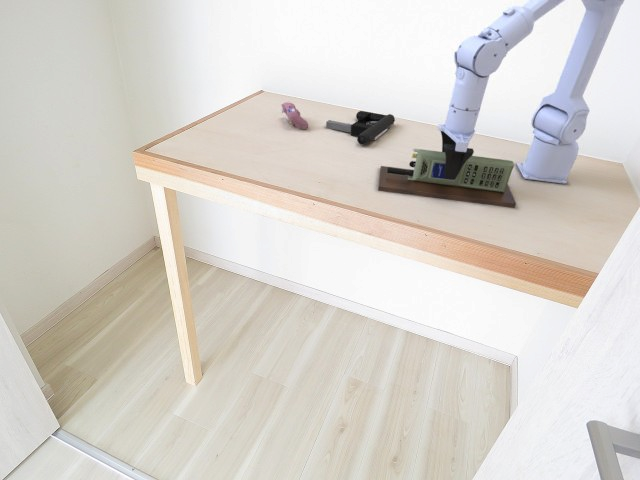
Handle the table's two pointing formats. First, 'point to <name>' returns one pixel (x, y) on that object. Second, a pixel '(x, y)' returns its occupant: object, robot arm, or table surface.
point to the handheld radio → (471, 175)
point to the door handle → (365, 126)
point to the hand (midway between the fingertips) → (448, 170)
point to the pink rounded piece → (294, 115)
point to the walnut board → (442, 190)
